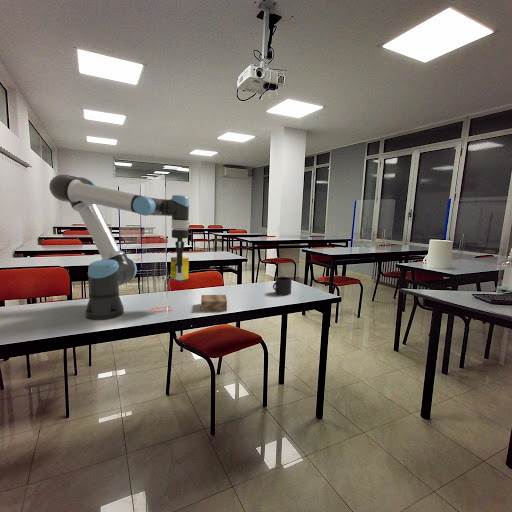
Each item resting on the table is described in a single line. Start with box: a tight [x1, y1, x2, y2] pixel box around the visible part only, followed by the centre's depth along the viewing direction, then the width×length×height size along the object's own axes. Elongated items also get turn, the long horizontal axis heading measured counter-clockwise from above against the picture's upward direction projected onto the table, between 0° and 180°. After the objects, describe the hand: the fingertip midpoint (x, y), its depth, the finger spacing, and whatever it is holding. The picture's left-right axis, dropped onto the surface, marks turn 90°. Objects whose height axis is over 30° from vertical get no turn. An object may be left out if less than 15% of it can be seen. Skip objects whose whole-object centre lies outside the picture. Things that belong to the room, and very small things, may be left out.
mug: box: [272, 276, 292, 296], centre depth 177 cm, size 9×12×9 cm
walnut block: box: [200, 294, 228, 312], centre depth 147 cm, size 12×12×5 cm
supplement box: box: [170, 256, 190, 283], centre depth 141 cm, size 6×6×11 cm
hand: (179, 277), depth 141 cm, fingers closed on supplement box, 8 cm apart
